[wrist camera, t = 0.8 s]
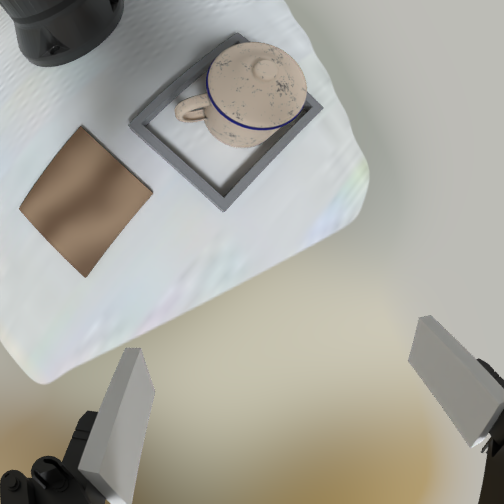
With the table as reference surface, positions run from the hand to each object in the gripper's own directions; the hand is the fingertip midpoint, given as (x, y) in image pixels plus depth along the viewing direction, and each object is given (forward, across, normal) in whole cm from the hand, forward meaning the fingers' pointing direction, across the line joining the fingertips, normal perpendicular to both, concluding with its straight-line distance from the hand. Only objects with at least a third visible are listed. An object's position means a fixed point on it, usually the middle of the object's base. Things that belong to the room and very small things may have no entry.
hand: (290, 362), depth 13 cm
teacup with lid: (+24, -2, +13) cm, 28 cm away
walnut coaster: (+20, -19, +6) cm, 28 cm away
